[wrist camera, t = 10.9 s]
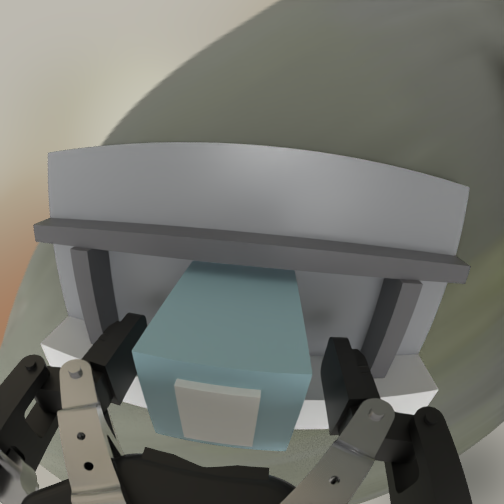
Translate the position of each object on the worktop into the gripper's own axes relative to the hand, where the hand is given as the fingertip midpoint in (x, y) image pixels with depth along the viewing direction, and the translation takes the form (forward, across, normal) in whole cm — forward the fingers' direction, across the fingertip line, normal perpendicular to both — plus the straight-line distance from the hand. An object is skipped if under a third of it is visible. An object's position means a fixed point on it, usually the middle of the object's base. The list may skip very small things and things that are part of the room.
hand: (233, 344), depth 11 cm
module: (+3, 0, 0) cm, 3 cm away
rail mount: (+4, 0, 0) cm, 4 cm away
